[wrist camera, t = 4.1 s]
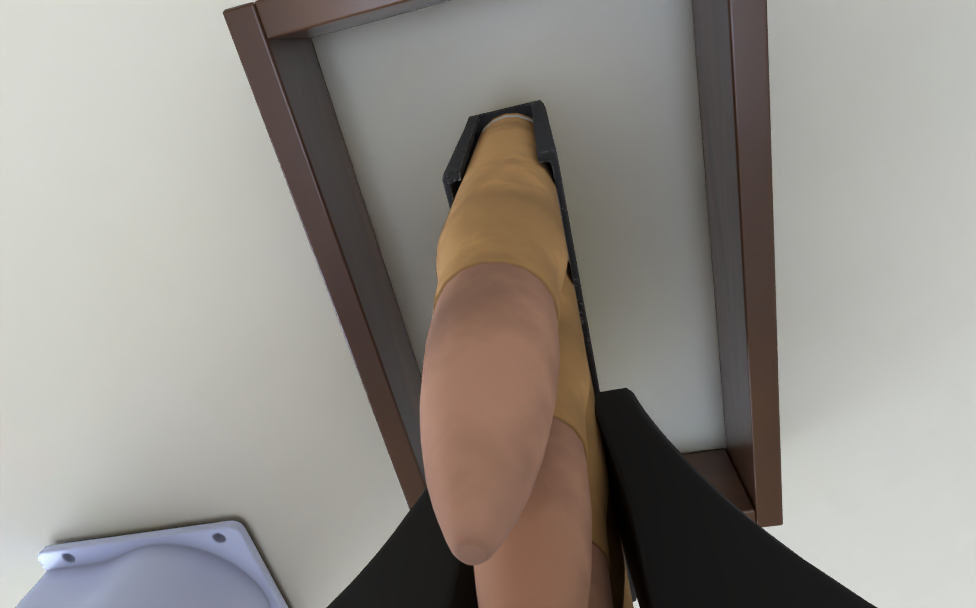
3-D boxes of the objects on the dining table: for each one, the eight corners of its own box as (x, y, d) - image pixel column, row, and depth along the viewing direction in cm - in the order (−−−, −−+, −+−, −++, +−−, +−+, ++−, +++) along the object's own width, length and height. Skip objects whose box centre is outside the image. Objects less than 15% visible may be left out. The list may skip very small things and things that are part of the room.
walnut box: (441, 503, 23) (430, 567, 20) (273, 13, 16) (219, 10, 13) (750, 461, 21) (783, 525, 18) (717, -111, 14) (764, -144, 11)
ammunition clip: (465, 117, 14) (242, 443, 3) (543, 98, 13) (622, 382, 3) (549, 468, 18) (586, 1129, 7) (609, 459, 18) (743, 1134, 7)
